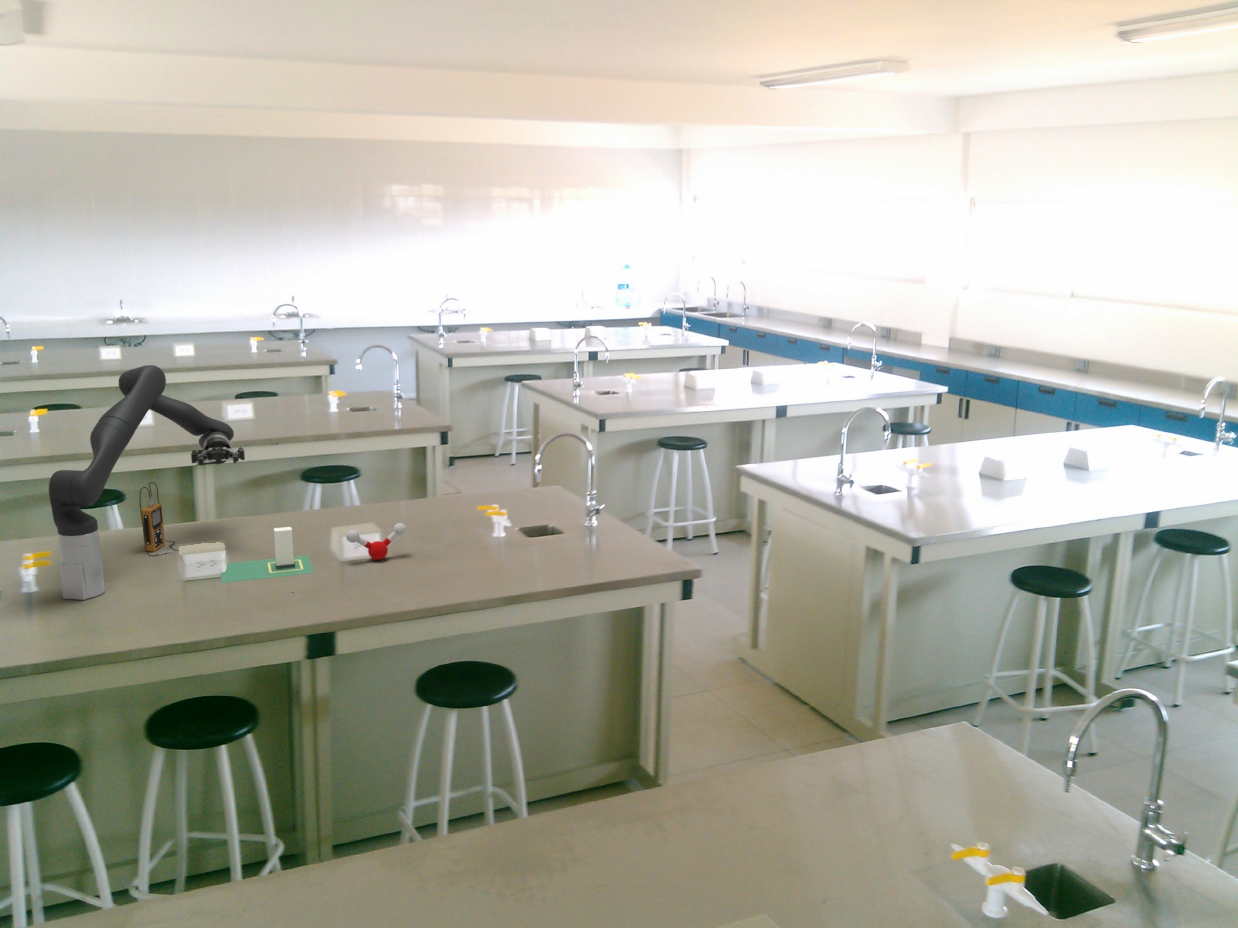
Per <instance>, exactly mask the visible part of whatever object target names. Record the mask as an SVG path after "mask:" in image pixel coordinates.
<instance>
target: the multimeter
mask: <svg viewBox="0 0 1238 928" xmlns="http://www.w3.org/2000/svg"><path fill="white" fill-rule="evenodd" d="M151 484H153V485H155V487H156V493H157V494H156V495H157V497H156V498H157V502H158V503H154V501H153V495H152V489H151V486H150V485H151ZM148 487H149V488H148ZM148 487H147V486H143V487H141V488H140V490H139V497H141V493H142V490H143V489H146V490H147V491H148V506H145V507H144V508H142V505H141V504H142V503H141V498H139V509H140V517H141V524H142V532H143V534H142V535H143V543H144V544H143V545H144V551H145V552H146V554H147V555H148V556H149V557H157V556H162V555H165V553H166V554H168V553H170V552H173V551H174V550H175V551H178V550H177V549H178V548H177V547H174V546H173V545H175V543H176V542H175V541H174V542H173V543H172V544H170V545H168V546H169V548H172V549H173V550H168V551H163V552H159V553H157V554H154V555H152V554H149V552H156V551H157V550H158V549H161V547H164V546H165V543H166V541H165V540H166V539H165V529H164V519H163V518H164V516H163V509H162V503H160V500H159V489H158V486H157V483H156V482H149V483H148ZM163 545H164V546H163Z"/></svg>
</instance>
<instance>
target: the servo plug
mask: <svg viewBox="0 0 1238 928" xmlns="http://www.w3.org/2000/svg"><path fill="white" fill-rule="evenodd" d="M273 535H274V551H275V552H274V553H275V554H274V555H275V558H276V565H277V566H278V565H287V564H294V557H295V556H294V543H293V542H294V541H293V540H294V539H293V529H292V527H291V526H285V527H276V528H275V527H274V528H273Z"/></svg>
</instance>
